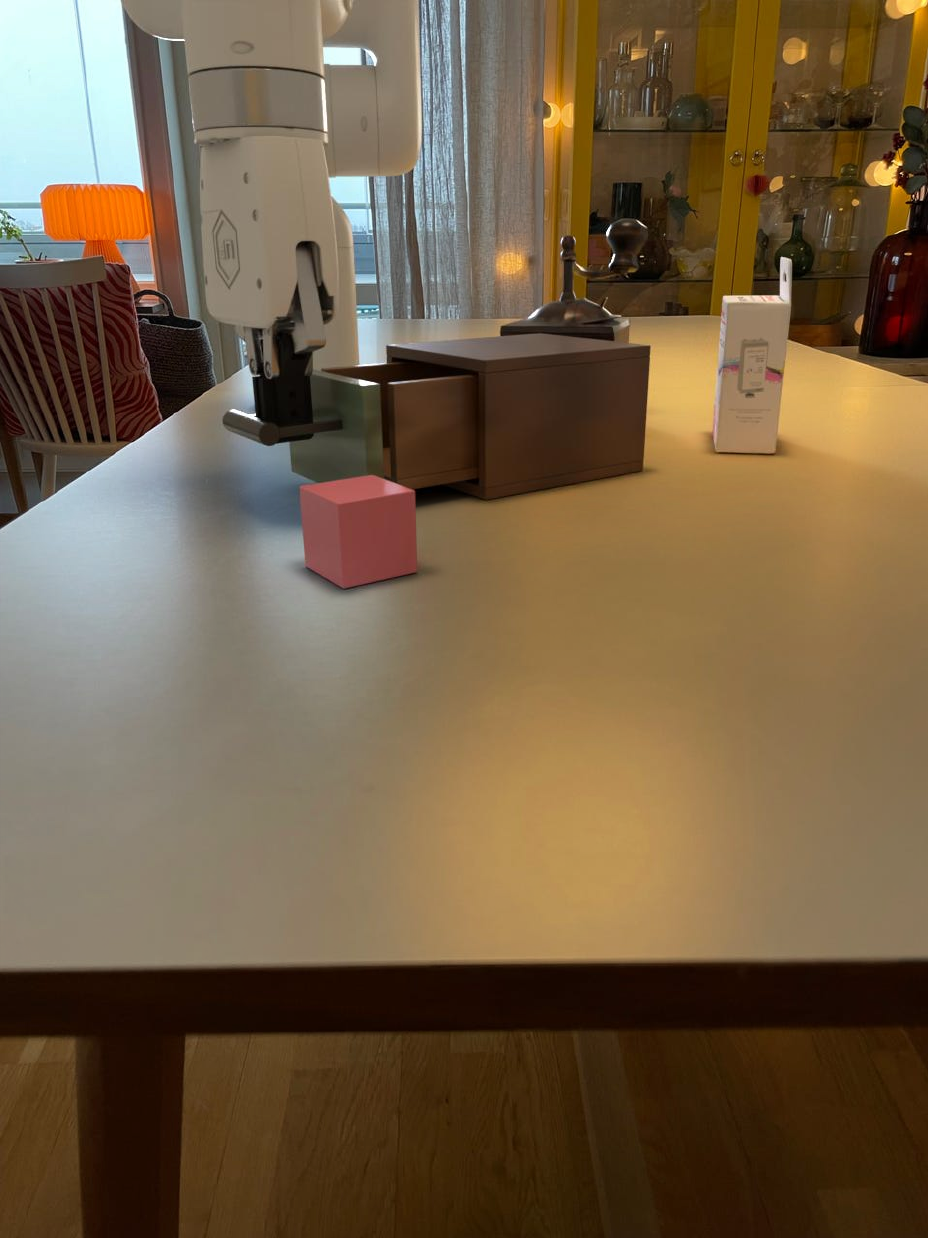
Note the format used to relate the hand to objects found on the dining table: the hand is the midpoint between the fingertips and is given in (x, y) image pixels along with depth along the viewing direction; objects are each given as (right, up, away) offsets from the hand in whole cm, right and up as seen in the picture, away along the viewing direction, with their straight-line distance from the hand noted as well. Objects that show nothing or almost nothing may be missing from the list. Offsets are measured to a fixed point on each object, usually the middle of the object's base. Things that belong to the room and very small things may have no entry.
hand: (286, 438), depth 60 cm
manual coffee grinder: (+22, +7, +30) cm, 38 cm away
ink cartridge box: (+35, +3, +19) cm, 40 cm away
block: (+6, -9, -10) cm, 15 cm away
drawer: (+5, -2, +5) cm, 8 cm away
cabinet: (+15, 0, +11) cm, 19 cm away
